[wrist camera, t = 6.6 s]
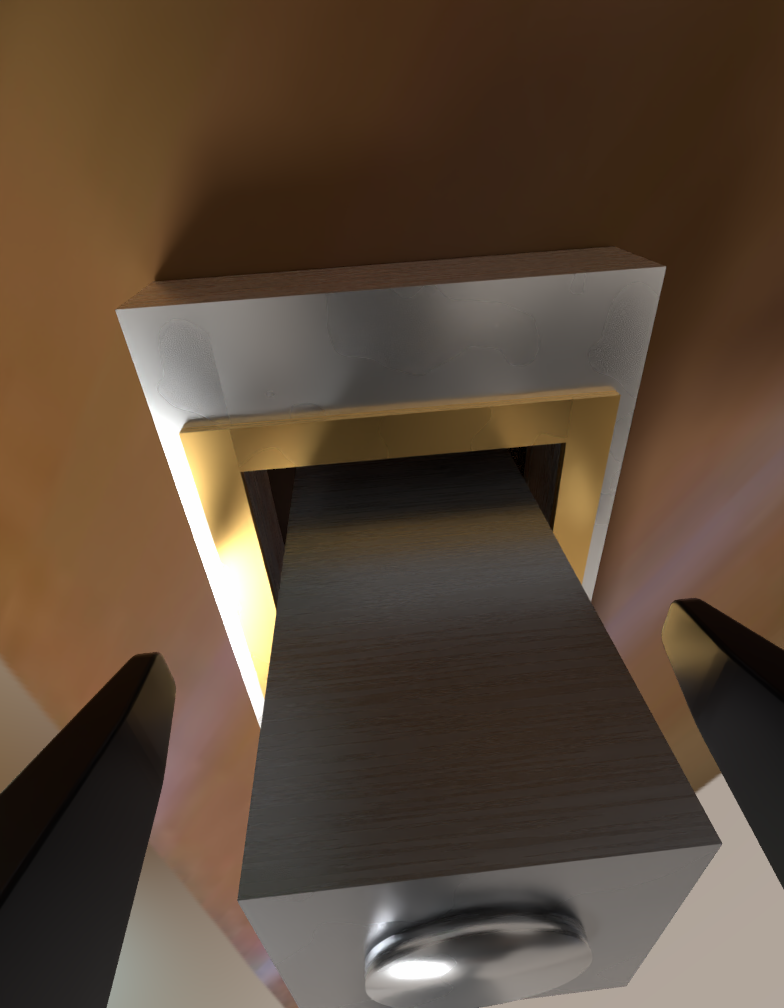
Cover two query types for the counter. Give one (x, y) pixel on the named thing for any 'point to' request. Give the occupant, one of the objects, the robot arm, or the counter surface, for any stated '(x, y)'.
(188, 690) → the counter surface
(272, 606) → the socket frame
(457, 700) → the gray knob block
